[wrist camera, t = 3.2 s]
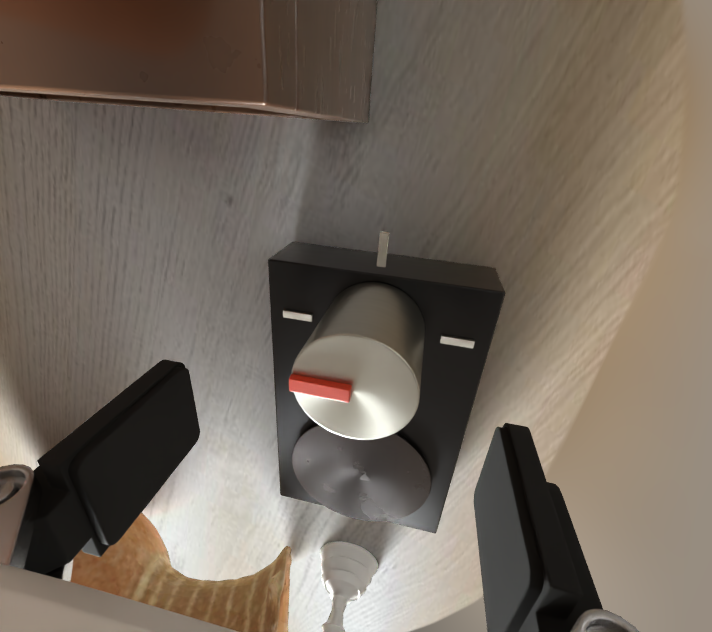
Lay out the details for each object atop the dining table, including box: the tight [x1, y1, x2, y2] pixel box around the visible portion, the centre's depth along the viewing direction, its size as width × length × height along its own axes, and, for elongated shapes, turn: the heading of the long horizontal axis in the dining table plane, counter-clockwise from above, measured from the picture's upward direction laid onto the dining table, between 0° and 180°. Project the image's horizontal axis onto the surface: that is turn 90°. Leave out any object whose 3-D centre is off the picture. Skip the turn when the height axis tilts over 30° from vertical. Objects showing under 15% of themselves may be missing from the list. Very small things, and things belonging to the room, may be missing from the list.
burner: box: [292, 423, 431, 522], centre depth 20 cm, size 8×8×1 cm
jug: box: [70, 513, 292, 632], centre depth 26 cm, size 20×19×30 cm
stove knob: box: [289, 282, 425, 440], centre depth 14 cm, size 4×4×5 cm
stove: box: [268, 231, 505, 533], centre depth 19 cm, size 10×18×3 cm, turn 176°
